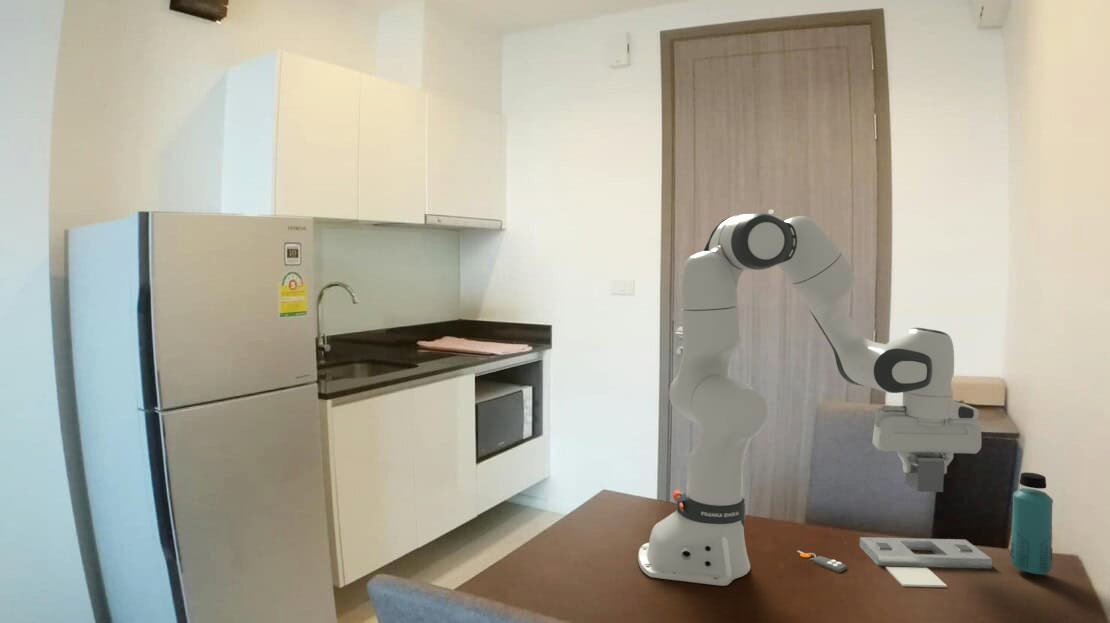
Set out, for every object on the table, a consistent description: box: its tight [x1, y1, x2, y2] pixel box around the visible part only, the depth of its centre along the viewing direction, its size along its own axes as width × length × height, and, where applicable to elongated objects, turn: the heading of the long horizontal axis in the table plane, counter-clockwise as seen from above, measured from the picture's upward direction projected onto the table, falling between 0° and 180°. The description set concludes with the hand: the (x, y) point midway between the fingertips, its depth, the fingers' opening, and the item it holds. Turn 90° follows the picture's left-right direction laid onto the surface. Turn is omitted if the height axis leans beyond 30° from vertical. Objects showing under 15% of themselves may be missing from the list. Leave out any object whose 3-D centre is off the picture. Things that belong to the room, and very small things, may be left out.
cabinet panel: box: [859, 536, 993, 569], centre depth 130 cm, size 22×9×2 cm, turn 86°
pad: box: [885, 566, 948, 589], centre depth 121 cm, size 8×7×1 cm
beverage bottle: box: [1009, 471, 1054, 575], centre depth 122 cm, size 6×7×20 cm
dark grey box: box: [905, 452, 946, 493], centre depth 129 cm, size 5×5×7 cm
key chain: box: [797, 550, 847, 574], centre depth 129 cm, size 13×4×2 cm, turn 37°
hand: (924, 472), depth 129 cm, fingers closed on dark grey box, 5 cm apart
